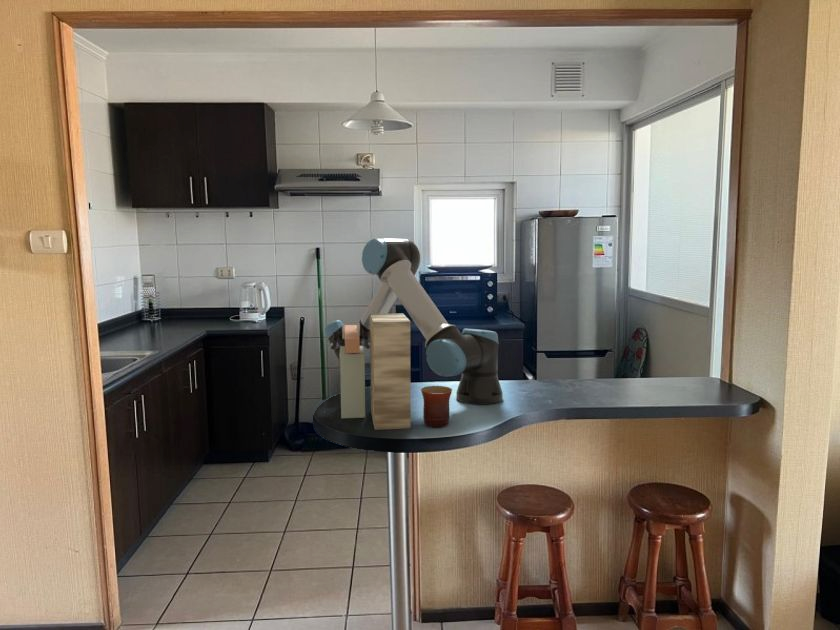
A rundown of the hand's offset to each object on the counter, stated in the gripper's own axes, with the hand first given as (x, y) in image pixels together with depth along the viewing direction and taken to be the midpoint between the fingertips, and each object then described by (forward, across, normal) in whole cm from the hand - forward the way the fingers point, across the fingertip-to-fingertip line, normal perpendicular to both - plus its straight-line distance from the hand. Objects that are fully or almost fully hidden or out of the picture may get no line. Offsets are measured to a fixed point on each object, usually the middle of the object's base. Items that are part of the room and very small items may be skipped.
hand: (351, 327), depth 189 cm
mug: (+8, -23, -33) cm, 41 cm away
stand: (+4, -10, -30) cm, 32 cm away
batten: (+1, 0, -6) cm, 6 cm away
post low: (-5, 0, -26) cm, 26 cm away
